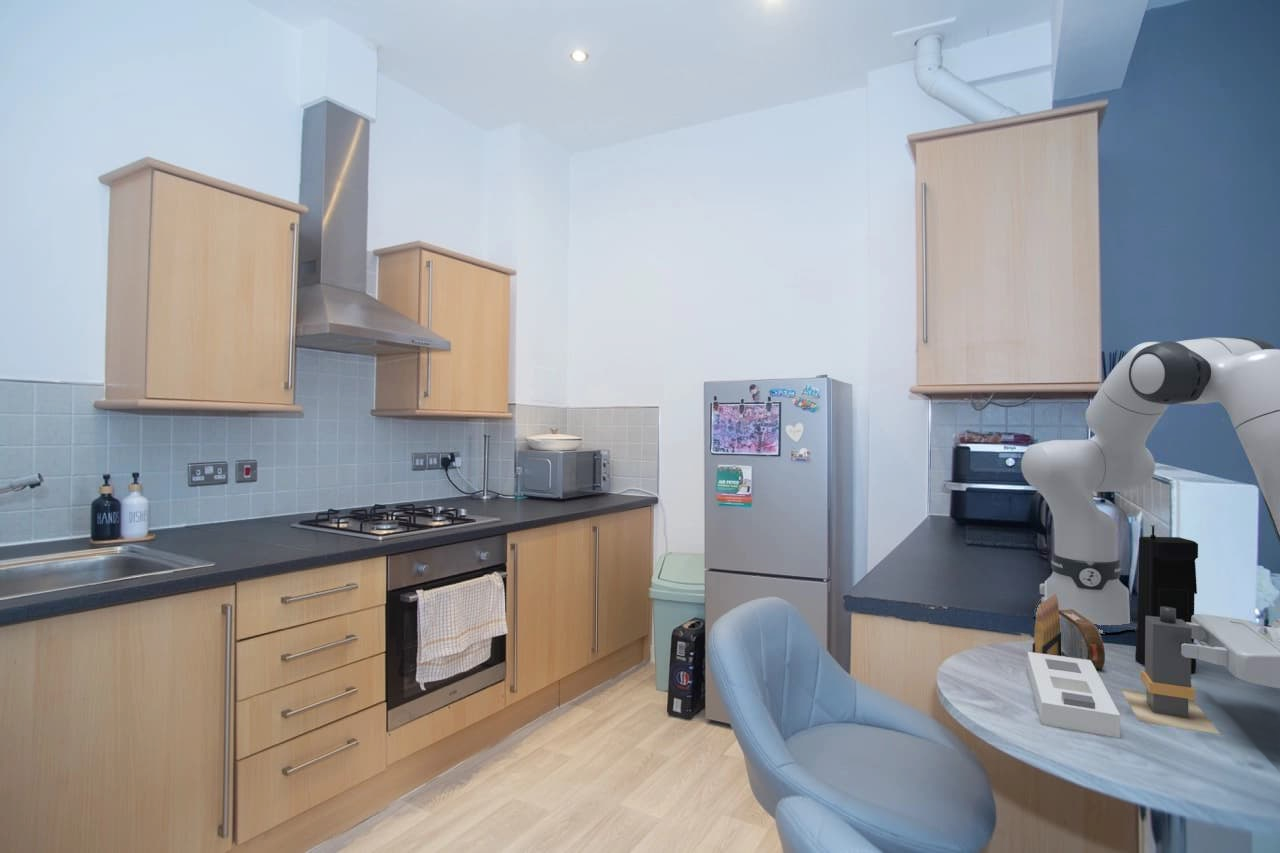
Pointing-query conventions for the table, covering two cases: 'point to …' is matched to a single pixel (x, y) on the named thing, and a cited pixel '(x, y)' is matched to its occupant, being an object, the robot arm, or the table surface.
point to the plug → (1167, 664)
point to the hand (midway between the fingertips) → (1170, 638)
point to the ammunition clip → (1047, 628)
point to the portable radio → (1165, 582)
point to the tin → (1081, 638)
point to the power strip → (1076, 686)
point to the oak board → (1145, 714)
